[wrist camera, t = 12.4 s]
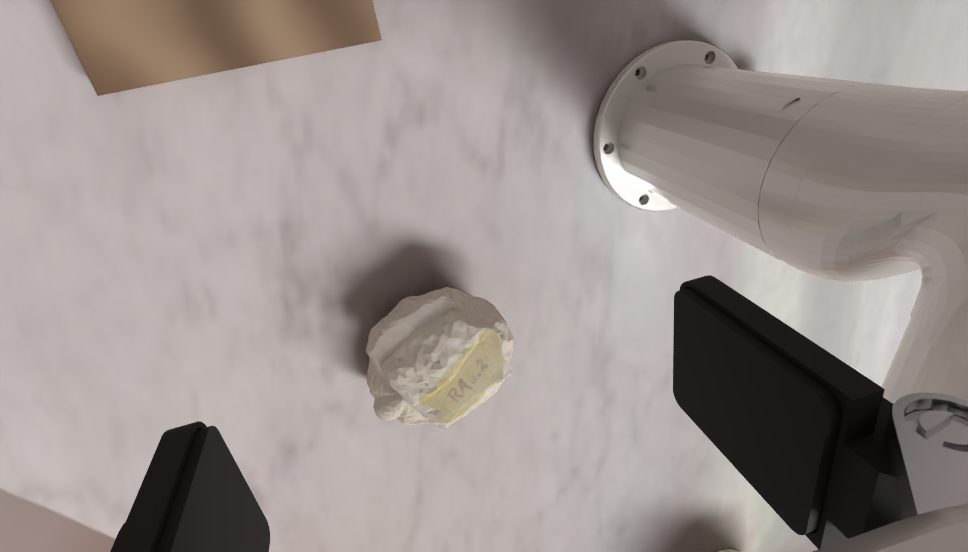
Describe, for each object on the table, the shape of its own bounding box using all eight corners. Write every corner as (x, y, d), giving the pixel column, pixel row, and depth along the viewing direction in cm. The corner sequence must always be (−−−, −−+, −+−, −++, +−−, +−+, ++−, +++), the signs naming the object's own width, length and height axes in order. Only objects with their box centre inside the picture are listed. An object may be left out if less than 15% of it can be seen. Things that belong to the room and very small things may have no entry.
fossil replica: (341, 381, 43) (451, 391, 47) (351, 461, 36) (478, 465, 40) (385, 254, 38) (503, 279, 42) (406, 319, 31) (543, 341, 36)
